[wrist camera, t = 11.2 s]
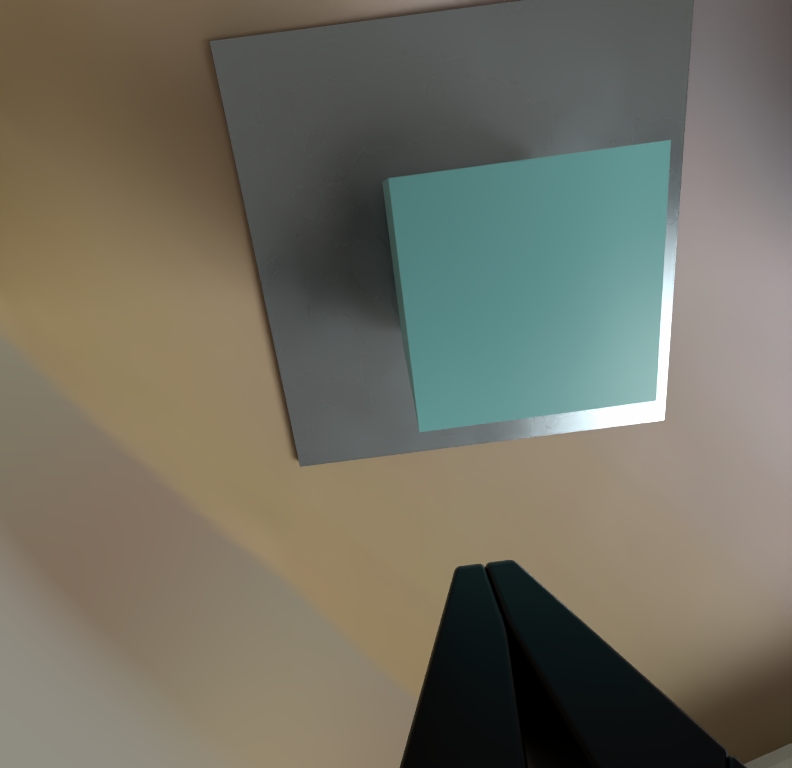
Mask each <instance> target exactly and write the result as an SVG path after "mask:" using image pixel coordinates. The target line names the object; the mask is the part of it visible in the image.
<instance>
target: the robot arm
mask: <svg viewBox="0 0 792 768" xmlns="http://www.w3.org/2000/svg"><path fill="white" fill-rule="evenodd" d="M400 768H747V767H746V766H745V765H744V764H743V763H742V762H740V761H739V760H738V759H737V758H736V757H735V756H729V757H728V753H727V750H726V749H725V748H724V747H723V746H722V745H721V744H720V743H719V742H718V741H716V740H715V739H714V738H713V737H712V736H711V735H710V734H709V733H708V732H706V731H705V730H704V729H703V728H702V727H701V726H700V725H699V724H697V723H696V722H695V721H694V720H693V719H692V718H691V717H690V716H688V715H687V714H686V713H685V712H684V711H683V710H682V709H681V708H679V707H678V706H677V705H676V704H675V703H674V702H673V701H672V700H670V699H669V698H668V697H667V696H666V695H665V694H664V693H663V692H661V691H660V690H659V689H658V688H657V687H656V686H655V685H654V684H652V683H651V682H650V681H649V680H648V679H647V678H646V677H645V676H643V675H642V674H641V673H640V672H639V671H638V670H637V669H636V668H634V667H633V666H632V665H631V664H630V663H629V662H628V661H627V660H625V659H624V658H623V657H622V656H621V655H620V654H619V653H618V652H616V651H615V650H614V649H613V648H612V647H611V646H610V645H609V644H607V643H606V642H605V641H604V640H603V639H602V638H601V637H600V636H598V635H597V634H596V633H595V632H594V631H593V630H592V629H591V628H589V627H588V626H587V625H586V624H585V623H584V622H583V621H582V620H581V619H579V618H578V617H577V616H576V615H575V614H574V613H573V612H572V611H570V610H569V609H568V608H567V607H566V606H565V605H564V604H563V603H561V602H560V601H559V600H558V599H557V598H556V597H555V596H554V595H552V594H551V593H550V592H549V591H548V590H547V589H546V588H545V587H543V586H542V585H541V584H540V583H539V582H538V581H537V580H536V579H534V578H533V577H532V576H531V575H530V574H529V573H528V572H527V571H525V570H524V569H523V568H522V567H521V566H520V565H519V564H518V563H516V562H515V561H513V560H505V561H497V562H490V563H488V564H486V566H485V567H484V566H483V565H482V564H474V565H466V566H459V567H457V568H456V569H455V571H454V574H453V578H452V582H451V585H450V589H449V592H448V596H447V600H446V603H445V607H444V610H443V614H442V617H441V621H440V625H439V628H438V632H437V635H436V639H435V643H434V646H433V650H432V653H431V657H430V661H429V664H428V668H427V671H426V675H425V679H424V682H423V686H422V689H421V693H420V697H419V700H418V704H417V707H416V711H415V715H414V719H413V722H412V725H411V729H410V733H409V736H408V740H407V744H406V747H405V751H404V754H403V758H402V761H401V765H400Z"/></svg>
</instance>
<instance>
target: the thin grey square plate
mask: <svg viewBox="0 0 792 768" xmlns="http://www.w3.org/2000/svg"><path fill="white" fill-rule="evenodd" d="M693 2H694V0H521V1H513V2H505V3H498V4H490V5H482V6H475V7H467V8H459V9H452V10H444V11H436V12H429V13H421V14H414V15H406V16H398V17H391V18H383V19H375V20H368V21H360V22H352V23H345V24H337V25H329V26H322V27H314V28H306V29H299V30H291V31H283V32H276V33H268V34H260V35H253V36H245V37H238V38H230V39H222V40H215V41H210V46H211V51H212V55H213V60H214V65H215V69H216V74H217V79H218V83H219V88H220V93H221V98H222V102H223V107H224V112H225V116H226V121H227V126H228V130H229V135H230V140H231V145H232V149H233V154H234V159H235V163H236V168H237V173H238V177H239V182H240V187H241V191H242V196H243V201H244V206H245V210H246V215H247V220H248V224H249V229H250V234H251V238H252V243H253V248H254V253H255V257H256V262H257V267H258V271H259V276H260V281H261V285H262V290H263V295H264V299H265V304H266V309H267V314H268V318H269V323H270V328H271V332H272V337H273V342H274V346H275V351H276V356H277V361H278V365H279V370H280V375H281V379H282V384H283V389H284V393H285V398H286V403H287V407H288V412H289V417H290V422H291V426H292V431H293V436H294V440H295V445H296V450H297V454H298V459H299V464H300V467H301V466H309V465H317V464H325V463H333V462H340V461H348V460H356V459H364V458H372V457H380V456H387V455H395V454H403V453H411V452H419V451H427V450H434V449H442V448H450V447H458V446H466V445H474V444H481V443H489V442H497V441H505V440H513V439H521V438H528V437H536V436H544V435H552V434H560V433H568V432H576V431H583V430H591V429H599V428H607V427H615V426H623V425H630V424H638V423H646V422H654V421H662V420H664V418H665V403H666V389H667V375H668V360H669V346H670V332H671V317H672V303H673V289H674V274H675V260H676V246H677V231H678V217H679V203H680V188H681V174H682V160H683V145H684V131H685V116H686V102H687V88H688V73H689V59H690V45H691V30H692V16H693ZM666 140H671V148H670V166H669V184H668V202H667V219H666V237H665V255H664V273H663V290H662V308H661V326H660V343H659V361H658V379H657V397H656V401H651V402H644V403H636V404H629V405H621V406H614V407H606V408H599V409H591V410H584V411H576V412H569V413H561V414H554V415H546V416H539V417H531V418H524V419H516V420H509V421H501V422H494V423H486V424H478V425H471V426H463V427H456V428H448V429H441V430H433V431H426V432H419V427H418V422H417V417H416V411H415V406H414V401H413V396H412V390H411V385H410V380H409V375H408V369H407V364H406V359H405V354H404V349H403V342H402V334H401V326H400V318H399V310H398V302H397V295H396V287H395V279H394V271H393V263H392V255H391V247H390V240H389V232H388V224H387V216H386V208H385V200H384V192H383V184H382V182H383V181H385V180H386V179H388V178H394V177H402V176H409V175H416V174H424V173H431V172H438V171H446V170H453V169H460V168H468V167H475V166H482V165H490V164H497V163H505V162H512V161H519V160H527V159H534V158H541V157H549V156H556V155H563V154H571V153H578V152H585V151H593V150H600V149H608V148H615V147H622V146H630V145H637V144H644V143H652V142H659V141H666Z"/></svg>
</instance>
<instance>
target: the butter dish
mask: <svg viewBox="0 0 792 768" xmlns="http://www.w3.org/2000/svg"><path fill="white" fill-rule="evenodd" d="M744 765H745V766H746V767H747V768H792V743H790V744H788V745H786V746H783V747H781V748H779V749H777V750H774V751H772V752H770V753H768V754H766V755H763V756H761V757H759V758H757V759H754V760H752V761H750V762H748V763H745V764H744Z"/></svg>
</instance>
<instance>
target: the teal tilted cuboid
mask: <svg viewBox="0 0 792 768" xmlns="http://www.w3.org/2000/svg"><path fill="white" fill-rule="evenodd" d="M670 148H671V140H666V141H659V142H652V143H644V144H637V145H630V146H622V147H615V148H608V149H600V150H593V151H585V152H578V153H571V154H563V155H556V156H549V157H541V158H534V159H527V160H519V161H512V162H505V163H497V164H490V165H482V166H475V167H468V168H460V169H453V170H446V171H438V172H431V173H424V174H416V175H409V176H402V177H394V178H388V179H386V180H385V181H383V182H382V184H383V192H384V200H385V208H386V216H387V224H388V232H389V240H390V247H391V255H392V263H393V271H394V279H395V287H396V295H397V302H398V310H399V318H400V326H401V334H402V342H403V349H404V354H405V359H406V364H407V369H408V375H409V380H410V385H411V390H412V396H413V401H414V406H415V411H416V417H417V422H418V427H419V432H426V431H433V430H441V429H448V428H456V427H463V426H471V425H478V424H486V423H494V422H501V421H509V420H516V419H524V418H531V417H539V416H546V415H554V414H561V413H569V412H576V411H584V410H591V409H599V408H606V407H614V406H621V405H629V404H636V403H644V402H651V401H656V397H657V379H658V361H659V343H660V326H661V308H662V290H663V273H664V255H665V237H666V219H667V202H668V184H669V166H670Z"/></svg>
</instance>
